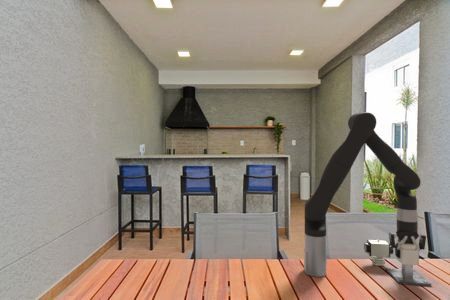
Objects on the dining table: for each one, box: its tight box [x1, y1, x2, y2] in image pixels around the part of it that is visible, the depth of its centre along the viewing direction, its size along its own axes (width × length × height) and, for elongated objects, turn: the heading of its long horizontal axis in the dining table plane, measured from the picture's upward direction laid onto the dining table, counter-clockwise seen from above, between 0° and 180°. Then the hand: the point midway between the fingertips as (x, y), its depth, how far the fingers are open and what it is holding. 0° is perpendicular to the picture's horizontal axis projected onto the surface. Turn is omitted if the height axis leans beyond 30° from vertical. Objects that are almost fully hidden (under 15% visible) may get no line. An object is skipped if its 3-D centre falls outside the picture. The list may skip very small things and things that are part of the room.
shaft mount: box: [385, 263, 432, 287], centre depth 119 cm, size 12×13×6 cm
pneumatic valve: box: [363, 239, 395, 267], centre depth 133 cm, size 6×12×12 cm, turn 78°
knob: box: [395, 243, 420, 266], centre depth 119 cm, size 6×6×8 cm
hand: (407, 258), depth 119 cm, fingers closed on knob, 6 cm apart
